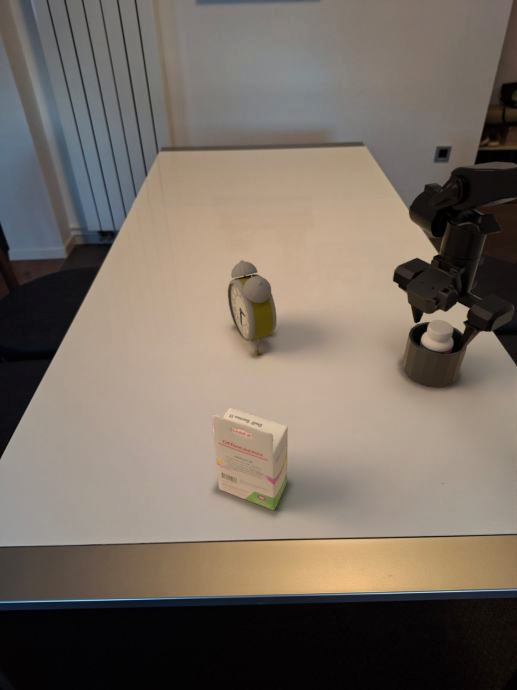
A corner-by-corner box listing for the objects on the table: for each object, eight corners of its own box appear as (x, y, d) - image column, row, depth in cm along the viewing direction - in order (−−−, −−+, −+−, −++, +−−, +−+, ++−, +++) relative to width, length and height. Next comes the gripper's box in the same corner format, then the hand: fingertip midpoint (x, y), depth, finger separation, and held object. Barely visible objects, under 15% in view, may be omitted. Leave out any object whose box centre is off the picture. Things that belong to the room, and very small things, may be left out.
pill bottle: (440, 381, 84) (452, 340, 79) (410, 371, 86) (419, 330, 81) (449, 364, 87) (461, 323, 82) (420, 354, 90) (430, 314, 84)
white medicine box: (288, 483, 69) (291, 408, 60) (274, 512, 65) (275, 436, 56) (233, 463, 72) (227, 388, 63) (216, 489, 68) (208, 414, 59)
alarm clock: (228, 326, 99) (224, 258, 89) (260, 318, 101) (258, 251, 91) (251, 360, 90) (248, 289, 81) (285, 350, 92) (286, 280, 83)
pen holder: (460, 360, 89) (470, 329, 85) (453, 393, 82) (463, 361, 78) (408, 347, 92) (415, 317, 88) (397, 378, 86) (403, 346, 81)
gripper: (375, 242, 76) (363, 325, 85) (481, 295, 63) (454, 385, 73) (424, 224, 81) (408, 304, 90) (531, 269, 68) (499, 357, 78)
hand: (438, 335), depth 83 cm, fingers open, 9 cm apart
